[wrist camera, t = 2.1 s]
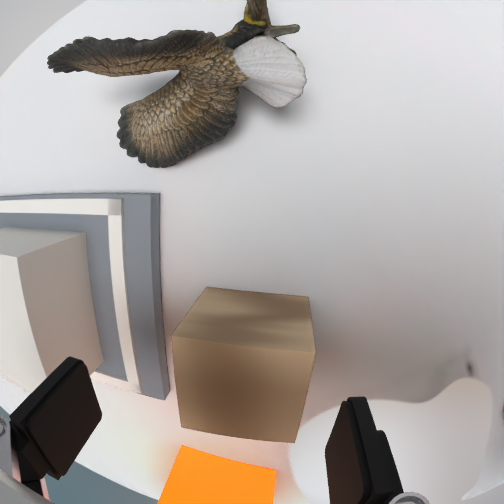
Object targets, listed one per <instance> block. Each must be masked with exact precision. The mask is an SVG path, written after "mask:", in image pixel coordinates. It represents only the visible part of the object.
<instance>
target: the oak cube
mask: <svg viewBox="0 0 504 504" xmlns="http://www.w3.org/2000/svg"><path fill="white" fill-rule="evenodd" d="M171 340H172V352H173V363H174V373H175V383H176V391H177V399H178V407H179V415H180V422H181V427H183V428H187V429H192V430H197V431H202V432H207V433H212V434H218V435H224V436H231V437H238V438H245V439H253V440H263V441H273V442H287V443H295V440H296V437H297V433H298V429H299V425H300V421H301V417H302V413H303V409H304V405H305V400H306V396H307V392H308V387H309V383H310V378H311V373H312V369H313V364H314V359H315V354H316V350H315V342H314V335H313V327H312V320H311V313H310V306H309V300H308V297H306V296H294V295H283V294H272V293H261V292H251V291H241V290H231V289H222V288H213V287H206V288H205V290H204V291H203V292H202V294H201V295H200V297H199V298H198V299H197V301H196V302H195V303H194V305H193V306H192V307H191V309H190V310H189V311H188V313H187V314H186V316H185V317H184V318H183V320H182V321H181V322H180V324H179V325H178V326H177V328H176V329H175V331H174V332H173V333H172V335H171Z"/></svg>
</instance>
